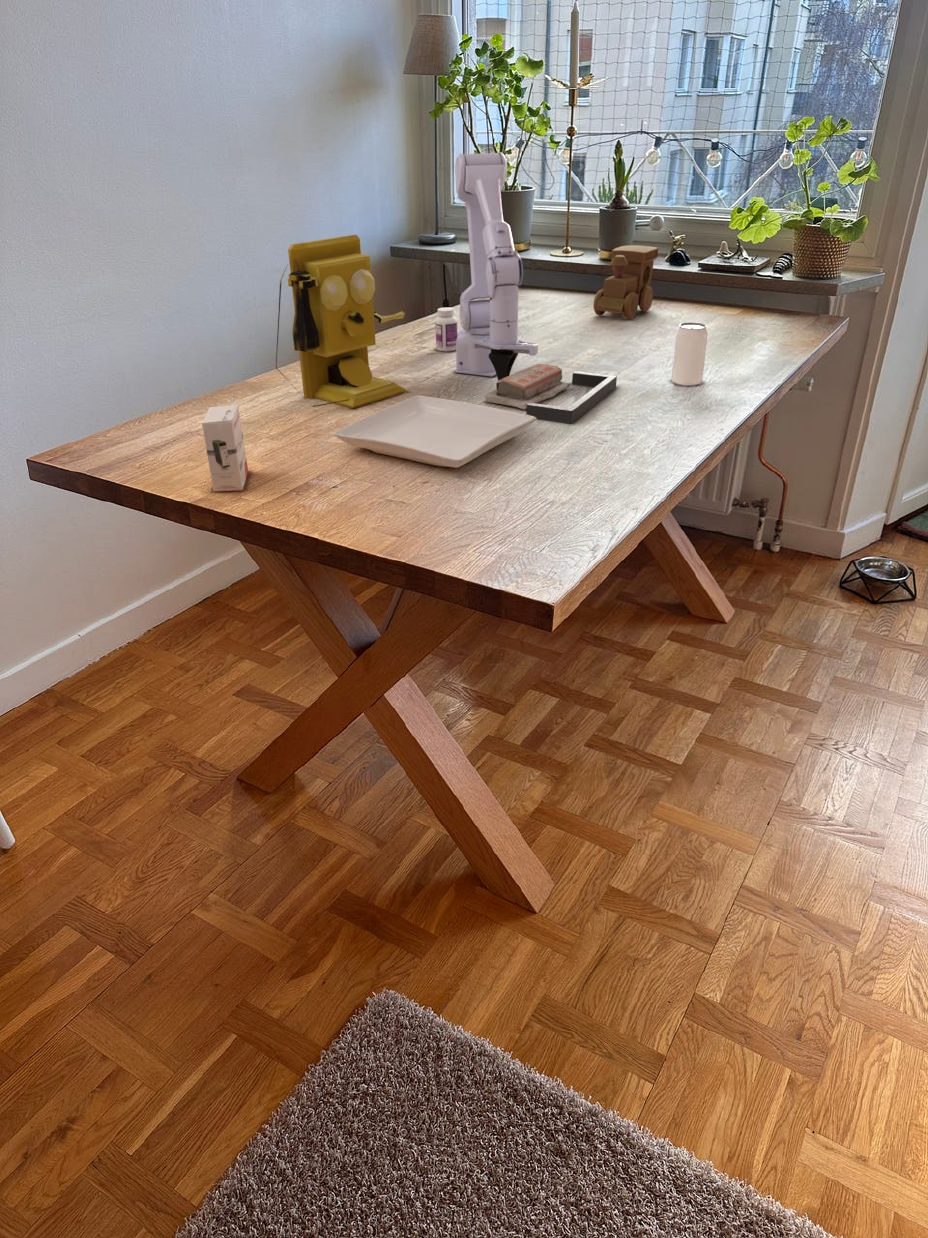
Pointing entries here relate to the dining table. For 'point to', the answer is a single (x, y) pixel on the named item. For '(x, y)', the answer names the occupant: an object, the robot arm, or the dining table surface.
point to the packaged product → (528, 386)
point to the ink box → (225, 448)
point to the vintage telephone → (335, 321)
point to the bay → (576, 410)
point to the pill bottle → (446, 329)
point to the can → (689, 354)
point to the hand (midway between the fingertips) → (503, 385)
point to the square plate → (435, 430)
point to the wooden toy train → (628, 282)
